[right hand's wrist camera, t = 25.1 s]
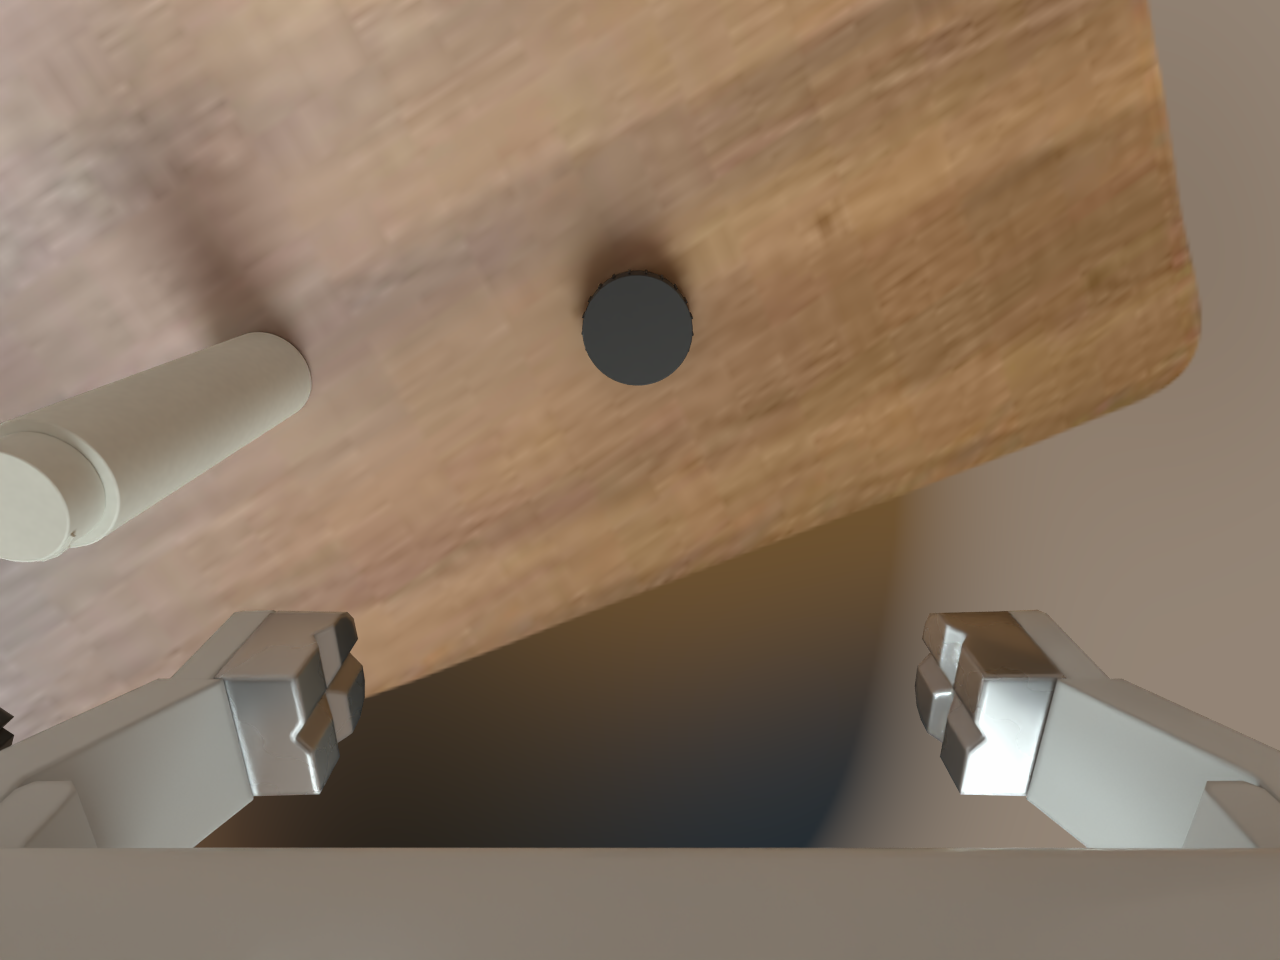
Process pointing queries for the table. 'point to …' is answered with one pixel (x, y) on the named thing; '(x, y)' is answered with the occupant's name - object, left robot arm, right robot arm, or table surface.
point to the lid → (637, 328)
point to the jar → (138, 441)
